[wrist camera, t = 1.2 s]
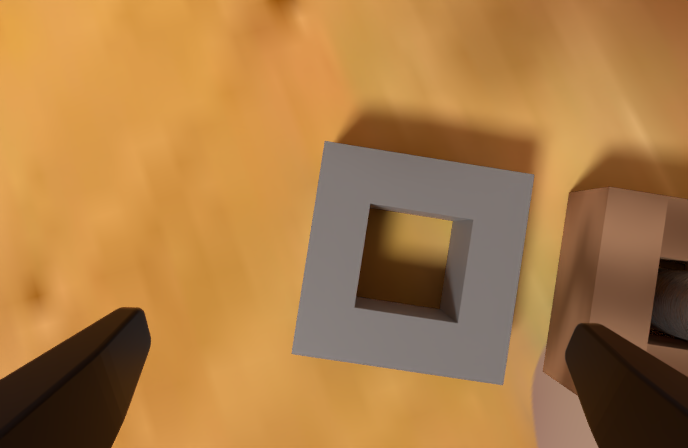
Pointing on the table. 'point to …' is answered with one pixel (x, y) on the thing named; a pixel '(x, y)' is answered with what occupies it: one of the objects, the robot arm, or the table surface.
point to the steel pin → (671, 303)
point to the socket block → (616, 271)
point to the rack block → (460, 275)
